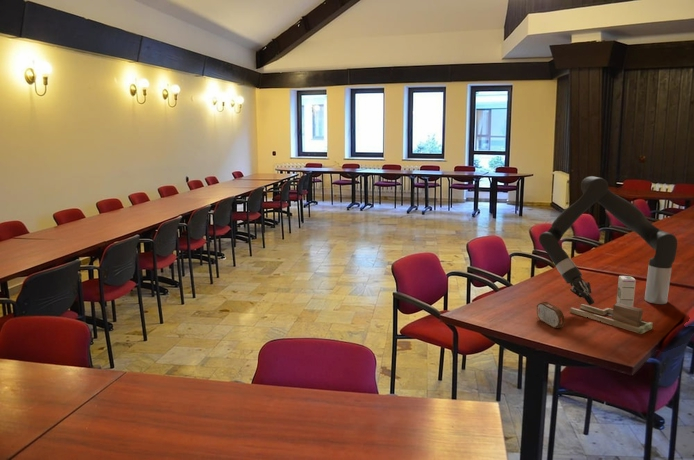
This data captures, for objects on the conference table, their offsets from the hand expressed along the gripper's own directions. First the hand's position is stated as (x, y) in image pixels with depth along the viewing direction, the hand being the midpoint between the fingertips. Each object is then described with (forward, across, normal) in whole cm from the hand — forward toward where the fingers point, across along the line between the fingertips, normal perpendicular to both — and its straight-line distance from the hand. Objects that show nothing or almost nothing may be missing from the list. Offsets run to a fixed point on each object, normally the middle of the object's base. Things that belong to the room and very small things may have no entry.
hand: (592, 304), depth 229 cm
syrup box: (+7, +20, 0) cm, 21 cm away
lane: (+9, +2, -2) cm, 10 cm away
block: (+14, 0, -7) cm, 16 cm away
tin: (0, -25, +7) cm, 26 cm away
